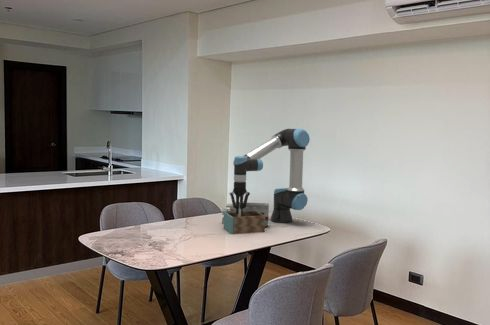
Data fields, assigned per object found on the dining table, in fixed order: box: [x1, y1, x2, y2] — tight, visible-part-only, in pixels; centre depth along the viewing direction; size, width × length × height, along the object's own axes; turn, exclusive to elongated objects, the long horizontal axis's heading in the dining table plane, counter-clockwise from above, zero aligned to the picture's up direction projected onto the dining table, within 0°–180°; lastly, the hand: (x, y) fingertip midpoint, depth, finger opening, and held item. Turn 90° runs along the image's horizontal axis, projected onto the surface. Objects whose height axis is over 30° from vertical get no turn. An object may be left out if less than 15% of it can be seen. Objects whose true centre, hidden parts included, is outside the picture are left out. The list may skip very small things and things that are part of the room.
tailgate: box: [223, 212, 234, 235], centre depth 271 cm, size 1×16×10 cm, turn 19°
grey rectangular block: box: [221, 201, 270, 227], centre depth 293 cm, size 8×30×15 cm, turn 84°
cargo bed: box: [226, 211, 266, 235], centre depth 275 cm, size 20×16×12 cm
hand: (239, 219), depth 274 cm, fingers closed
